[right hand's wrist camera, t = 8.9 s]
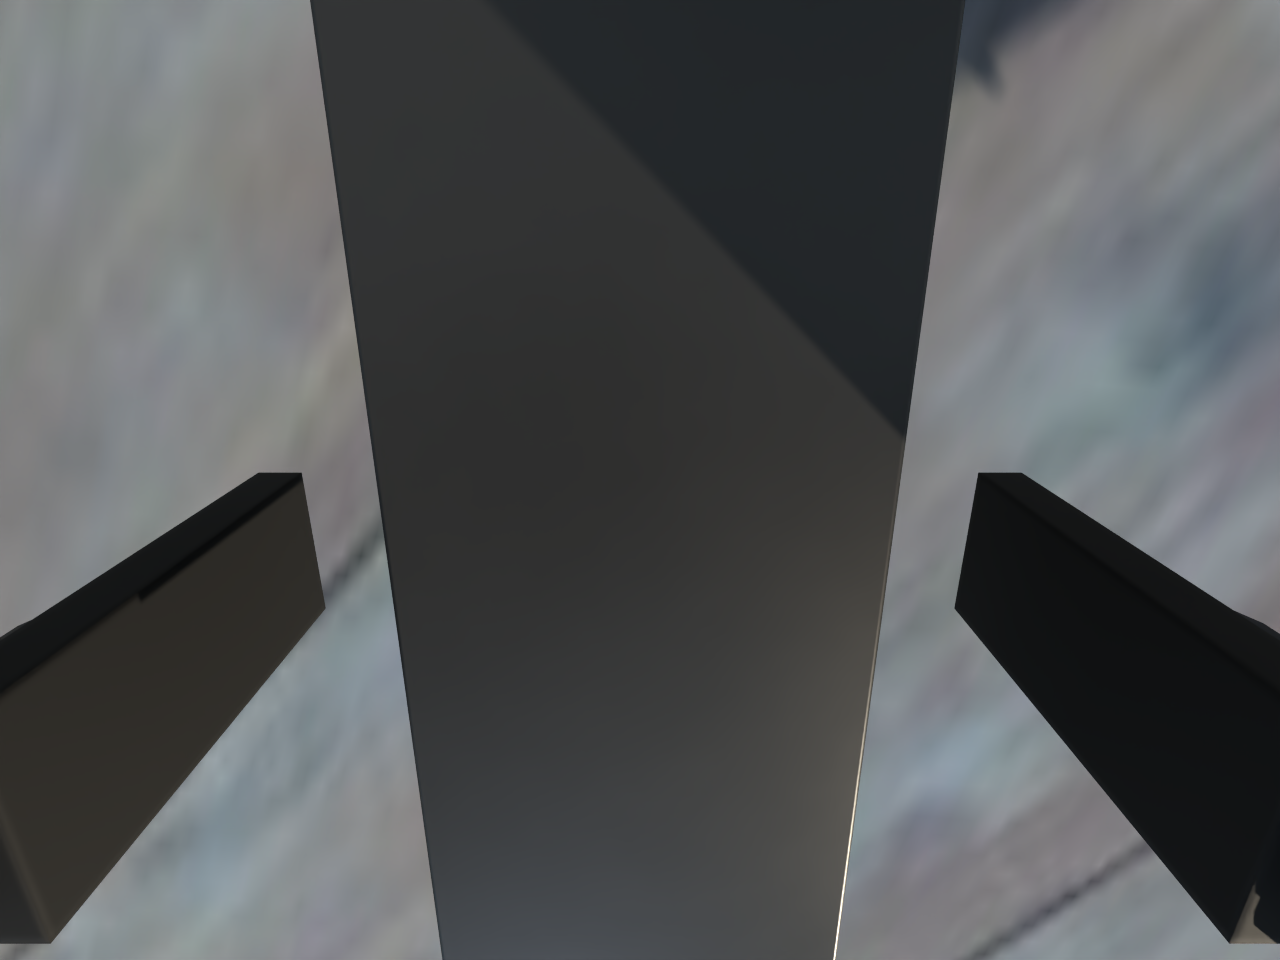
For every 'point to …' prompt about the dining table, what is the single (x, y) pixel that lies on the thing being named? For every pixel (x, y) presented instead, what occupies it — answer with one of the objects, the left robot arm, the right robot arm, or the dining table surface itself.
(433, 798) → the bar
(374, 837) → the dining table surface
